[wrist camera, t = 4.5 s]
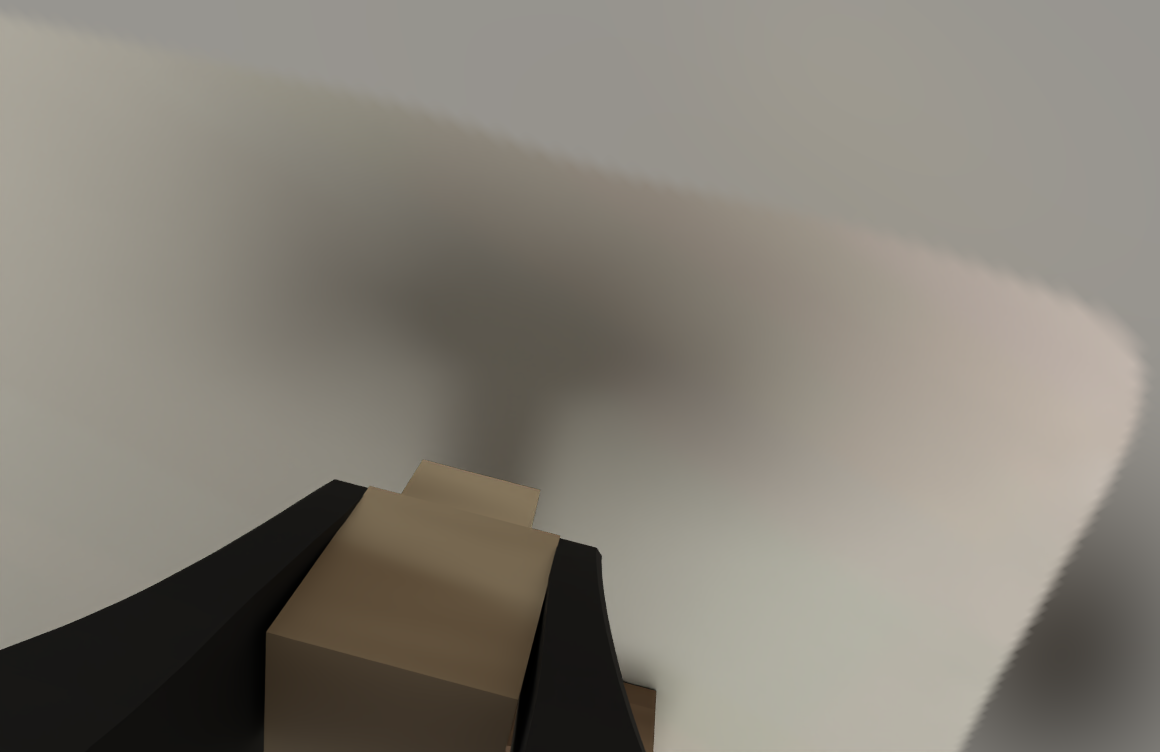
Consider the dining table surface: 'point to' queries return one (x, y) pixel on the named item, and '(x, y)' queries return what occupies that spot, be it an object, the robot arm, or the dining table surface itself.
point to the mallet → (412, 622)
